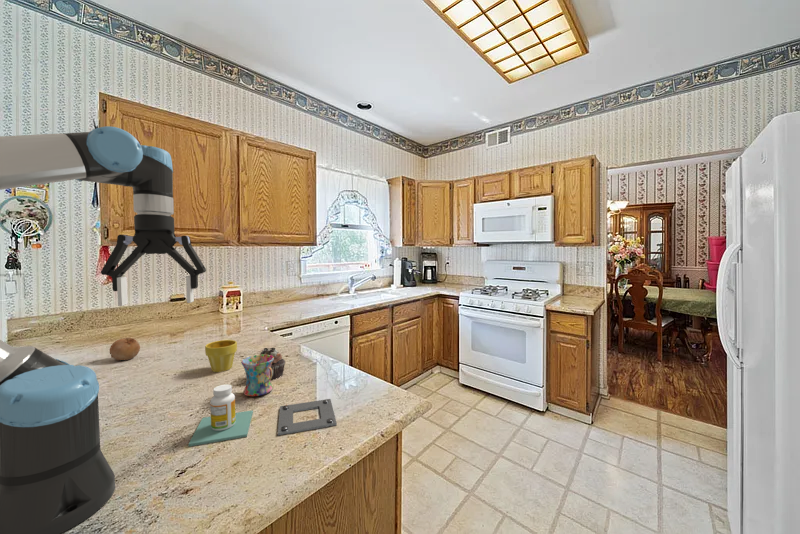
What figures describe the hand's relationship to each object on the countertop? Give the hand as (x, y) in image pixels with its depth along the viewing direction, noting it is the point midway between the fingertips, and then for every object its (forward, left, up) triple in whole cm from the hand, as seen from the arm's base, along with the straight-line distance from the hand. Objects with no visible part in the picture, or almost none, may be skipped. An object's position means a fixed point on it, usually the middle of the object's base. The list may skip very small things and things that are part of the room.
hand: (157, 303), depth 75 cm
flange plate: (-4, -34, -32) cm, 47 cm away
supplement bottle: (-3, -14, -31) cm, 34 cm away
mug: (+15, -21, -32) cm, 41 cm away
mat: (-3, -14, -32) cm, 35 cm away
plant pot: (+42, -5, -32) cm, 53 cm away
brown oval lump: (+67, +35, -32) cm, 82 cm away
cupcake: (+29, -23, -32) cm, 49 cm away
